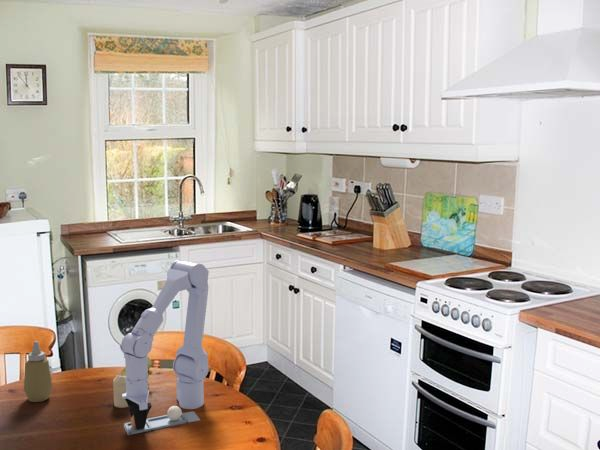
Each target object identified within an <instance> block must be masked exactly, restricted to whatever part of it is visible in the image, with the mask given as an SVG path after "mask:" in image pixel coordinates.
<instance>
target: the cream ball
mask: <svg viewBox="0 0 600 450" xmlns="http://www.w3.org/2000/svg"><path fill="white" fill-rule="evenodd" d="M182 413H183V412H182V409H181V407H180V406H179V405H178V406H177V405H172V406H170V407H169V408H168V409H167V412H166V415H167V416H168V418H169V419H170V420H172V421H176V420H178V419H179V418H180V417H181V415H182Z"/></svg>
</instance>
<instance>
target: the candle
mask: <svg viewBox="0 0 600 450" xmlns="http://www.w3.org/2000/svg"><path fill="white" fill-rule="evenodd" d="M112 381H113V382H112V383H113V384H112V385H113V389H112V391H113V405H114V407H115V408H121V409H124V408H129V407H128V404H127V402H126V400H125V399H123V398H122V394H124V393H126V374H121V373H118V374H116V376H115V377H114V378H113V380H112Z"/></svg>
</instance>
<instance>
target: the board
mask: <svg viewBox="0 0 600 450" xmlns="http://www.w3.org/2000/svg"><path fill="white" fill-rule="evenodd" d="M198 421H201V419H200V417H199V416H198V415H197V414H196V412H195V411H193V410H192V411H187V412H182V415H181V417H180V418H179V419H178V420H176V421H172V420H170V419H169V418H168V416H167V414H164V415H159V416H154V417H149V418H147V419H146V424H145V428H143V429H139V430H137V429H136V428H134V427H133V426H132V425H131V421H130V422H124V423H123V428H124V430H125V432H126V434H127V435H128V436H131V435H134V434H139V433H145V432H150V431H154V430H159V429H165V428H167V427H174V426H179V425H184V424H189V423H192V422H198Z"/></svg>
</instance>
